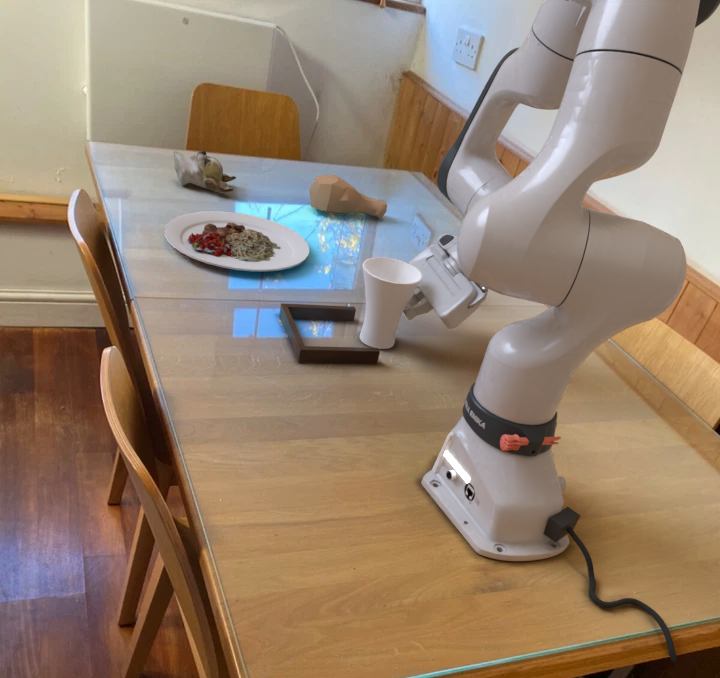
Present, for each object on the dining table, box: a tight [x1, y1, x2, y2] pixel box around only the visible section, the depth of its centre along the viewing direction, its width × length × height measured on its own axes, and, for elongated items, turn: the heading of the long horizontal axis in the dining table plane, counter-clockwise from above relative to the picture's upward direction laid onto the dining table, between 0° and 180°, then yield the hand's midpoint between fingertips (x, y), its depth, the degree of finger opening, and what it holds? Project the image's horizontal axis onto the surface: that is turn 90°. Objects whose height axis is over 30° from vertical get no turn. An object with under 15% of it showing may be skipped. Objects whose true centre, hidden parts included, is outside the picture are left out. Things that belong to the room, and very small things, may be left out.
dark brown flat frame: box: [279, 302, 381, 365], centre depth 123 cm, size 16×14×2 cm
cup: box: [359, 256, 423, 350], centre depth 123 cm, size 10×10×14 cm
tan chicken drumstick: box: [309, 174, 388, 219], centre depth 174 cm, size 11×20×9 cm, turn 104°
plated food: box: [164, 210, 310, 272], centre depth 147 cm, size 30×30×3 cm
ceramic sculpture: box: [173, 150, 237, 193], centre depth 169 cm, size 11×9×15 cm
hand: (404, 313), depth 125 cm, fingers closed, pressing on cup
